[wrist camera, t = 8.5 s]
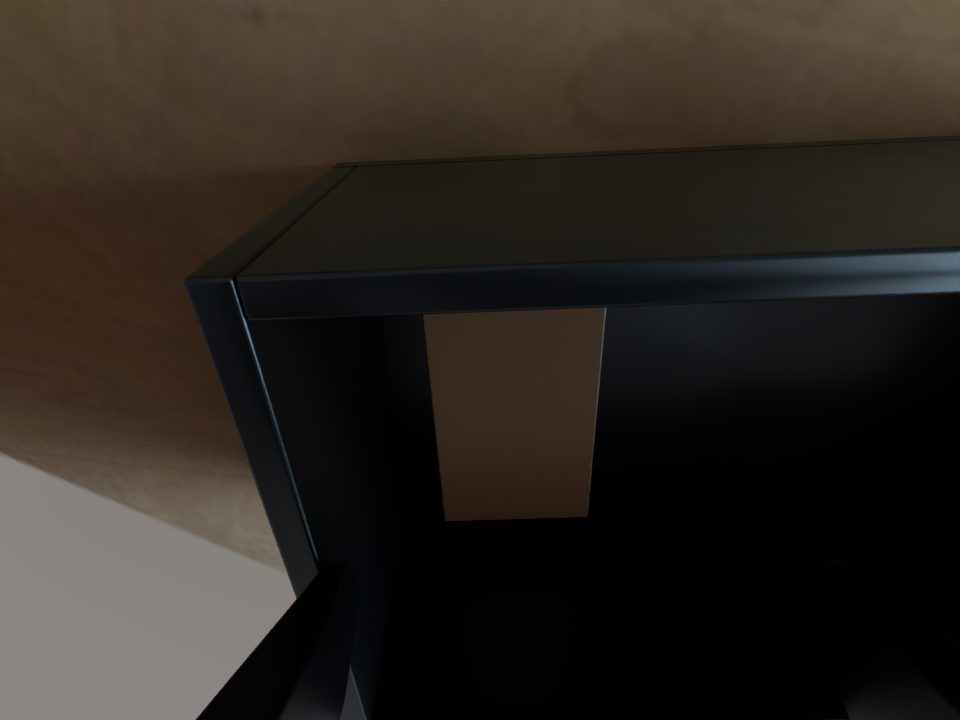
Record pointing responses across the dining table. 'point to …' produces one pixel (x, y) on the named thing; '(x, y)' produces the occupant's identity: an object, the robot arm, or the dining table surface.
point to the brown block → (515, 410)
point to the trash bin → (612, 417)
